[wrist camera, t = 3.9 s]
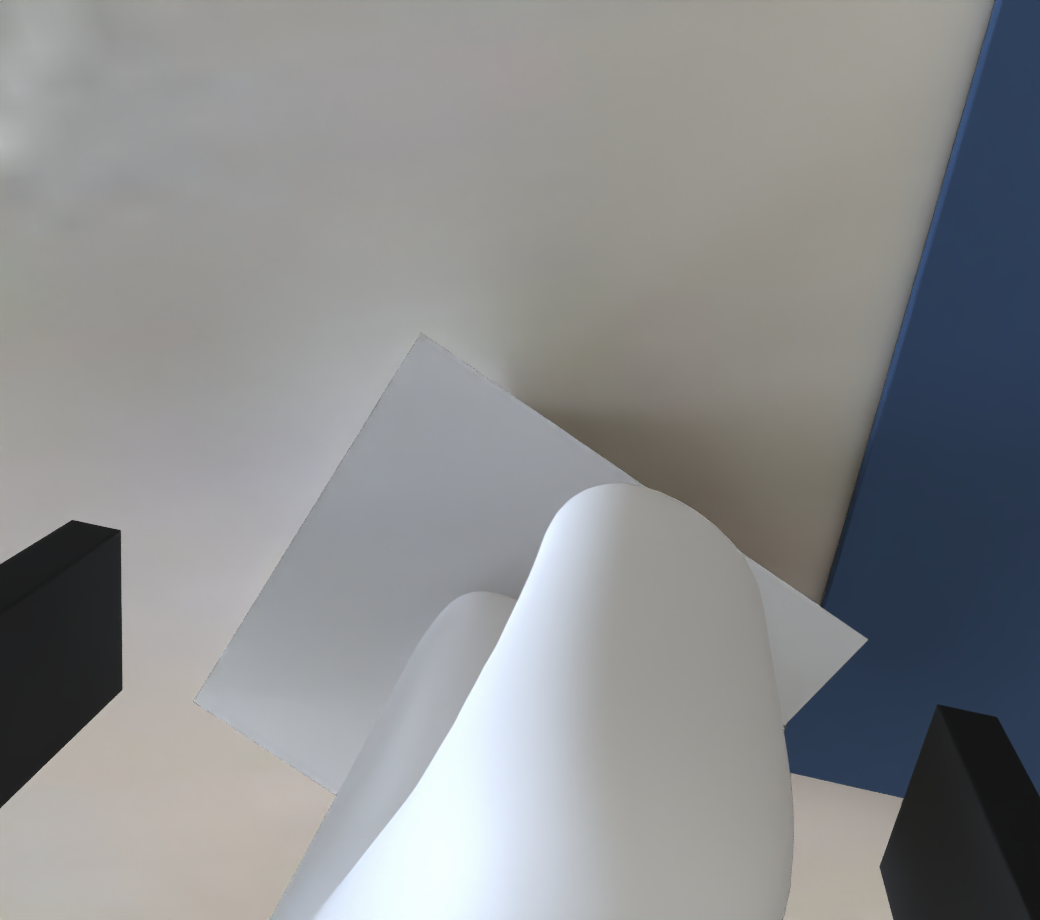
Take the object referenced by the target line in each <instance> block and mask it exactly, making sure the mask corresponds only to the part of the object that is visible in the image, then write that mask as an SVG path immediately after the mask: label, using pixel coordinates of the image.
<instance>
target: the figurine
mask: <svg viewBox="0 0 1040 920" xmlns="http://www.w3.org/2000/svg"><path fill="white" fill-rule="evenodd" d="M867 640H868V639H867V638H866V637H864V636H863V635H861V634H860V633H858V632H857V631H855V630H854V629H852V628H851V627H849V626H848V625H847V624H845V623H844V622H842V621H841V620H839V619H838V618H836V617H835V616H833V615H832V614H831V613H829V612H828V611H826V610H825V609H823V608H822V607H820V606H819V605H817V604H816V603H815V602H813V601H812V600H810V599H809V598H807V597H806V596H804V595H803V594H801V593H800V592H799V591H797V590H796V589H794V588H793V587H791V586H790V585H788V584H787V583H785V582H784V581H782V580H781V579H780V578H778V577H777V576H775V575H774V574H772V573H771V572H769V571H768V570H766V569H765V568H764V567H762V566H761V565H759V564H758V563H756V562H755V561H753V560H752V559H750V558H749V557H748V556H746V555H745V554H743V553H742V552H740V551H739V550H738V549H737V548H736V546H735V545H734V544H733V542H732V541H731V540H730V539H729V538H728V537H727V536H726V535H725V534H724V533H722V532H721V531H720V530H719V529H718V528H717V527H716V526H715V525H714V524H713V523H711V522H710V521H709V520H708V519H706V518H705V517H704V516H702V515H701V514H700V513H699V512H697V511H696V510H694V509H692V508H691V507H689V506H687V505H686V504H684V503H682V502H681V501H679V500H677V499H675V498H673V497H670V496H668V495H666V494H664V493H662V492H659V491H656V490H653V489H649V488H647V487H646V486H644V485H643V484H641V483H640V482H638V481H637V480H635V479H634V478H632V477H631V476H629V475H628V474H627V473H625V472H624V471H622V470H621V469H619V468H618V467H616V466H615V465H613V464H612V463H611V462H609V461H608V460H606V459H605V458H603V457H602V456H600V455H599V454H597V453H596V452H595V451H593V450H592V449H590V448H589V447H587V446H586V445H584V444H583V443H581V442H580V441H578V440H577V439H576V438H574V437H573V436H571V435H570V434H568V433H567V432H565V431H564V430H562V429H561V428H560V427H558V426H557V425H555V424H554V423H552V422H551V421H549V420H548V419H546V418H545V417H544V416H542V415H541V414H539V413H538V412H536V411H535V410H533V409H532V408H530V407H529V406H527V405H526V404H525V403H523V402H522V401H520V400H519V399H517V398H516V397H514V396H513V395H511V394H510V393H509V392H507V391H506V390H504V389H503V388H501V387H500V386H498V385H497V384H495V383H494V382H493V381H491V380H490V379H488V378H487V377H485V376H484V375H482V374H481V373H479V372H478V371H477V370H475V369H474V368H472V367H471V366H469V365H468V364H466V363H465V362H463V361H462V360H460V359H459V358H458V357H456V356H455V355H453V354H452V353H450V352H449V351H447V350H446V349H444V348H443V347H442V346H440V345H439V344H437V343H436V342H434V341H433V340H431V339H430V338H428V337H427V336H426V335H424V334H423V333H420V335H419V336H418V338H417V340H416V341H415V343H414V344H413V346H412V348H411V349H410V351H409V353H408V354H407V356H406V357H405V359H404V361H403V362H402V364H401V366H400V367H399V369H398V370H397V372H396V374H395V375H394V377H393V378H392V380H391V382H390V383H389V385H388V387H387V388H386V390H385V391H384V393H383V395H382V396H381V398H380V400H379V401H378V403H377V404H376V406H375V408H374V409H373V411H372V412H371V414H370V416H369V417H368V419H367V421H366V422H365V424H364V425H363V427H362V429H361V430H360V432H359V434H358V435H357V437H356V438H355V440H354V442H353V443H352V445H351V446H350V448H349V450H348V451H347V453H346V455H345V456H344V458H343V459H342V461H341V463H340V464H339V466H338V468H337V469H336V471H335V472H334V474H333V476H332V477H331V479H330V480H329V482H328V484H327V485H326V487H325V489H324V490H323V492H322V493H321V495H320V497H319V498H318V500H317V502H316V503H315V505H314V506H313V508H312V510H311V511H310V513H309V514H308V516H307V518H306V519H305V521H304V523H303V524H302V526H301V527H300V529H299V531H298V532H297V534H296V536H295V537H294V539H293V540H292V542H291V544H290V545H289V547H288V548H287V550H286V552H285V553H284V555H283V557H282V558H281V560H280V561H279V563H278V565H277V566H276V568H275V570H274V571H273V573H272V574H271V576H270V578H269V579H268V581H267V582H266V584H265V586H264V587H263V589H262V591H261V592H260V594H259V595H258V597H257V599H256V600H255V602H254V604H253V605H252V607H251V608H250V610H249V612H248V613H247V615H246V616H245V618H244V620H243V621H242V623H241V625H240V626H239V628H238V629H237V631H236V633H235V634H234V636H233V638H232V639H231V641H230V642H229V644H228V646H227V647H226V649H225V650H224V652H223V654H222V655H221V657H220V659H219V660H218V662H217V663H216V665H215V667H214V668H213V670H212V672H211V673H210V675H209V676H208V678H207V680H206V681H205V683H204V684H203V686H202V688H201V689H200V691H199V693H198V694H197V696H196V697H195V699H194V701H193V702H194V703H196V704H197V705H199V706H200V707H202V708H203V709H205V710H206V711H208V712H209V713H211V714H213V715H214V716H216V717H217V718H219V719H220V720H222V721H223V722H225V723H226V724H228V725H229V726H231V727H232V728H234V729H235V730H237V731H238V732H240V733H241V734H243V735H245V736H246V737H248V738H249V739H251V740H252V741H254V742H255V743H257V744H258V745H260V746H261V747H263V748H264V749H266V750H267V751H269V752H270V753H272V754H273V755H275V756H277V757H278V758H280V759H281V760H283V761H284V762H286V763H287V764H289V765H290V766H292V767H293V768H295V769H296V770H298V771H299V772H301V773H302V774H304V775H305V776H307V777H309V778H310V779H312V780H313V781H315V782H316V783H318V784H319V785H321V786H322V787H324V788H325V789H327V790H328V791H330V792H331V793H333V794H334V795H336V797H335V799H334V801H333V803H332V805H331V807H330V809H329V810H328V812H327V814H326V816H325V818H324V820H323V822H322V823H321V825H320V827H319V829H318V831H317V833H316V835H315V836H314V838H313V840H312V842H311V844H310V846H309V848H308V850H307V851H306V853H305V855H304V857H303V859H302V861H301V863H300V864H299V866H298V868H297V870H296V872H295V874H294V876H293V878H292V879H291V881H290V883H289V885H288V887H287V889H286V891H285V892H284V894H283V896H282V898H281V900H280V902H279V904H278V905H277V907H276V909H275V911H274V913H273V915H272V916H271V918H270V920H783V918H784V914H785V910H786V905H787V901H788V896H789V892H790V886H791V873H792V860H793V842H794V819H793V798H792V787H791V777H790V770H789V762H788V755H787V748H786V742H785V735H784V729H783V726H784V725H785V724H786V723H787V722H788V721H789V720H790V719H791V718H792V717H793V716H794V715H795V714H796V713H797V712H798V711H799V710H800V709H801V708H802V707H803V706H804V705H805V704H806V703H807V702H808V701H809V700H810V699H811V698H812V697H813V696H814V695H815V694H816V693H817V692H818V691H819V690H820V689H821V688H822V687H823V685H824V684H825V683H826V682H827V681H828V680H829V679H830V678H831V677H832V676H833V675H834V674H835V673H836V672H837V671H838V670H839V669H840V668H841V667H842V666H843V665H844V664H845V663H846V662H847V661H848V660H849V659H850V658H851V657H852V656H853V655H854V654H855V653H856V652H857V651H858V650H859V649H860V648H861V647H862V646H863V645H864V644H865V642H866V641H867Z"/></svg>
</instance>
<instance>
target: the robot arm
mask: <svg viewBox="0 0 1040 920" xmlns="http://www.w3.org/2000/svg"><path fill="white" fill-rule="evenodd" d="M120 691H122V608H121V530H117V529H112V528H107V527H103V526H98V525H93V524H89V523H84V522H79V521H74V520H71V521H70V522H68V523H67V524H65V525H63V526H62V527H60V528H58V529H57V530H55V531H54V532H52V533H50V534H49V535H47V536H46V537H44V538H42V539H41V540H39V541H37V542H36V543H34V544H33V545H31V546H29V547H28V548H26V549H24V550H23V551H21V552H20V553H18V554H16V555H15V556H13V557H11V558H10V559H8V560H7V561H5V562H3V563H2V564H0V808H1V807H2V806H3V805H4V804H5V803H6V802H7V801H8V800H9V799H10V798H11V797H12V796H13V795H14V794H15V793H16V792H17V791H18V790H19V789H20V788H22V787H23V786H24V785H25V784H26V783H27V782H28V781H29V780H30V779H31V778H32V777H33V776H34V775H35V774H36V773H37V772H38V771H39V770H40V769H41V768H42V767H43V766H44V765H45V764H46V763H47V762H48V761H49V760H50V759H51V758H52V757H53V756H55V755H56V754H57V753H58V752H59V751H60V750H61V749H62V748H63V747H64V746H65V745H66V744H67V743H68V742H69V741H70V740H71V739H72V738H73V737H74V736H75V735H76V734H77V733H78V732H79V731H80V730H81V729H82V728H83V727H84V726H85V725H86V724H88V723H89V722H90V721H91V720H92V719H93V718H94V717H95V716H96V715H97V714H98V713H99V712H100V711H101V710H102V709H103V708H104V707H105V706H106V705H107V704H108V703H109V702H110V701H111V700H112V699H113V698H114V697H115V696H116V695H117V694H118V693H119V692H120ZM880 870H881V874H882V877H883V881H884V885H885V889H886V893H887V897H888V900H889V904H890V908H891V912H892V916H893V920H1040V796H1039V794H1038V792H1037V791H1036V789H1035V787H1034V785H1033V783H1032V781H1031V779H1030V777H1029V776H1028V774H1027V772H1026V770H1025V768H1024V766H1023V764H1022V762H1021V761H1020V759H1019V757H1018V755H1017V753H1016V751H1015V749H1014V747H1013V746H1012V744H1011V742H1010V740H1009V738H1008V736H1007V734H1006V732H1005V731H1004V729H1003V727H1002V725H1001V723H1000V721H999V719H998V717H995V716H990V715H986V714H981V713H976V712H972V711H967V710H962V709H958V708H953V707H948V706H943V705H939V704H937V706H936V709H935V711H934V714H933V717H932V720H931V723H930V726H929V728H928V731H927V734H926V737H925V740H924V743H923V745H922V748H921V751H920V754H919V757H918V760H917V762H916V765H915V768H914V771H913V774H912V777H911V779H910V782H909V785H908V788H907V791H906V794H905V796H904V799H903V802H902V805H901V808H900V811H899V813H898V816H897V819H896V822H895V825H894V828H893V830H892V833H891V836H890V839H889V842H888V845H887V847H886V850H885V853H884V856H883V859H882V862H881V864H880Z"/></svg>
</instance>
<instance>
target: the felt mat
mask: <svg viewBox="0 0 1040 920" xmlns="http://www.w3.org/2000/svg"><path fill="white" fill-rule="evenodd" d="M821 607H822V608H823V609H825V610H826V611H828V612H829V613H831V614H832V615H833V616H835V617H836V618H838V619H839V620H841V621H842V622H844V623H845V624H847V625H848V626H849V627H851V628H852V629H854V630H855V631H857V632H858V633H860V634H861V635H863V636H864V637H866V638H867V639H868V640H867V641H866V642H865V644H864V645H863V646H862V647H861V648H860V649H859V650H858V651H857V652H856V653H855V654H854V655H853V656H852V657H851V658H850V659H849V660H848V661H847V662H846V663H845V664H844V665H843V666H842V667H841V668H840V669H839V670H838V671H837V672H836V673H835V674H834V675H833V676H832V677H831V678H830V679H829V680H828V681H827V682H826V683H825V684H824V685H823V687H822V688H821V689H820V690H819V691H818V692H817V693H816V694H815V695H814V696H813V697H812V698H811V699H810V700H809V701H808V702H807V703H806V704H805V705H804V706H803V707H802V708H801V709H800V710H799V711H798V712H797V713H796V714H795V715H794V716H793V717H792V718H791V719H790V720H789V721H788V722H787V725H786V728H785V732H784V735H785V742H786V748H787V755H788V762H789V770H790V773H794V774H798V775H803V776H807V777H812V778H816V779H821V780H825V781H830V782H834V783H839V784H843V785H847V786H852V787H856V788H861V789H865V790H870V791H874V792H879V793H883V794H888V795H892V796H896V797H901V798H904V796H905V794H906V791H907V788H908V785H909V782H910V779H911V777H912V774H913V771H914V768H915V765H916V762H917V760H918V757H919V754H920V751H921V748H922V745H923V743H924V740H925V737H926V734H927V731H928V728H929V726H930V723H931V720H932V717H933V714H934V711H935V709H936V706H937V704H939V705H943V706H948V707H953V708H958V709H962V710H967V711H972V712H976V713H981V714H986V715H990V716H995V717H998V719H999V721H1000V723H1001V725H1002V727H1003V729H1004V731H1005V732H1006V734H1007V736H1008V738H1009V740H1010V742H1011V744H1012V746H1013V747H1014V749H1015V751H1016V753H1017V755H1018V757H1019V759H1020V761H1021V762H1022V764H1023V766H1024V768H1025V770H1026V772H1027V774H1028V776H1029V777H1030V779H1031V781H1032V783H1033V785H1034V787H1035V789H1036V791H1037V792H1038V794H1039V796H1040V0H996V1H995V4H994V8H993V11H992V15H991V18H990V22H989V25H988V29H987V32H986V35H985V39H984V42H983V46H982V49H981V53H980V56H979V60H978V63H977V67H976V70H975V74H974V77H973V80H972V84H971V87H970V91H969V94H968V98H967V101H966V105H965V108H964V112H963V115H962V119H961V122H960V126H959V129H958V132H957V136H956V139H955V143H954V146H953V150H952V153H951V157H950V160H949V164H948V167H947V171H946V174H945V177H944V181H943V184H942V188H941V191H940V195H939V198H938V202H937V205H936V209H935V212H934V216H933V219H932V223H931V226H930V229H929V233H928V236H927V240H926V243H925V247H924V250H923V254H922V257H921V261H920V264H919V268H918V271H917V275H916V278H915V281H914V285H913V288H912V292H911V295H910V299H909V302H908V306H907V309H906V313H905V316H904V320H903V323H902V326H901V330H900V333H899V337H898V340H897V344H896V347H895V351H894V354H893V358H892V361H891V365H890V368H889V372H888V375H887V378H886V382H885V385H884V389H883V392H882V396H881V399H880V403H879V406H878V410H877V413H876V417H875V420H874V423H873V427H872V430H871V434H870V437H869V441H868V444H867V448H866V451H865V455H864V458H863V462H862V465H861V469H860V472H859V475H858V479H857V482H856V486H855V489H854V493H853V496H852V500H851V503H850V507H849V510H848V514H847V517H846V521H845V524H844V527H843V531H842V534H841V538H840V541H839V545H838V548H837V552H836V555H835V559H834V562H833V566H832V569H831V572H830V576H829V579H828V583H827V586H826V590H825V593H824V597H823V600H822V604H821Z"/></svg>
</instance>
